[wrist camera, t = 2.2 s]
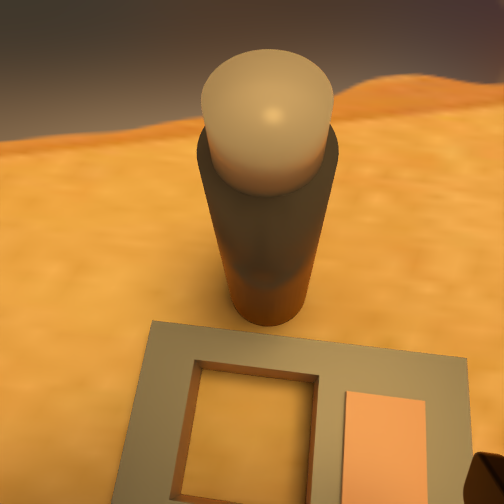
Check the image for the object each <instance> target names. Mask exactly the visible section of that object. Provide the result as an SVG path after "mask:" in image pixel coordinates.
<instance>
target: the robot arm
mask: <svg viewBox="0 0 504 504" xmlns="http://www.w3.org/2000/svg"><path fill="white" fill-rule="evenodd" d="M463 500H464V504H504V457H503V456H502V455H499V454H494V453H487V452H477V453H475V454H474V456H473V458H472V461H471V464H470V467H469V470H468V473H467V476H466V480H465V483H464V486H463Z"/></svg>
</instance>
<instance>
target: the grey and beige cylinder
mask: <svg viewBox="0 0 504 504" xmlns="http://www.w3.org/2000/svg"><path fill="white" fill-rule="evenodd" d="M333 103H334V96H333V90H332V87H331V84H330V82H329V80H328V78H327V77H326V75H325V74H324V73H323V71H322V70H321V69H320V68H319V67H318V66H317V65H315V64H314V63H313V62H311V61H310V60H308V59H306V58H304V57H302V56H300V55H297V54H294V53H292V52H288V51H283V50H274V49H263V50H254V51H249V52H246V53H242V54H239V55H237V56H234V57H232V58H231V59H229V60H227V61H225V62H224V63H222V64H221V65H220V66H219V67H217V68H216V69H215V71H214V72H213V73H212V74H211V75H210V76H209V78H208V79H207V81H206V83H205V85H204V88H203V91H202V96H201V108H202V112H203V118H204V123H205V127H204V128H203V130H202V132H201V134H200V137H199V140H198V145H197V161H198V166H199V170H200V174H201V178H202V182H203V186H204V190H205V194H206V199H207V203H208V207H209V211H210V215H211V219H212V223H213V227H214V231H215V235H216V239H217V243H218V247H219V251H220V255H221V259H222V263H223V267H224V271H225V275H226V279H227V283H228V287H229V291H230V295H231V299H232V302H233V305H234V307H235V308H236V310H237V311H238V312H239V314H240V315H241V316H242V317H244V318H245V319H246V320H248V321H249V322H252V323H254V324H257V325H261V326H276V325H280V324H283V323H285V322H287V321H289V320H290V319H292V318H293V317H294V316H295V315H296V314H297V313H298V312H299V311H300V309H301V308H302V306H303V304H304V301H305V297H306V293H307V289H308V285H309V280H310V276H311V272H312V268H313V264H314V259H315V255H316V251H317V247H318V242H319V238H320V234H321V230H322V226H323V221H324V217H325V213H326V209H327V204H328V200H329V196H330V192H331V188H332V183H333V179H334V175H335V171H336V166H337V162H338V155H339V151H338V142H337V138H336V135H335V132H334V130H333V128H332V126H331V125H330V120H331V115H332V109H333Z"/></svg>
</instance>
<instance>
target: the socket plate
mask: <svg viewBox="0 0 504 504" xmlns="http://www.w3.org/2000/svg"><path fill="white" fill-rule="evenodd" d="M202 369H208V370H216V371H223V372H231V373H239V374H247V375H255V376H262V377H270V378H278V379H286V380H294V381H301V382H309V383H314V391H313V405H312V419H311V433H310V447H309V461H308V475H307V489H306V502H305V504H464V500H463V486H464V483H465V480H466V476H467V473H468V470H469V467H470V464H471V461H472V458H473V449H472V433H471V417H470V401H469V385H468V369H467V358H461V357H453V356H444V355H436V354H428V353H419V352H411V351H403V350H394V349H386V348H378V347H369V346H361V345H353V344H344V343H336V342H328V341H319V340H311V339H303V338H294V337H286V336H278V335H269V334H261V333H253V332H244V331H236V330H228V329H219V328H211V327H203V326H194V325H186V324H178V323H169V322H161V321H153V320H152V324H151V328H150V332H149V337H148V341H147V346H146V350H145V355H144V359H143V363H142V368H141V372H140V377H139V381H138V386H137V390H136V395H135V399H134V403H133V408H132V412H131V417H130V421H129V426H128V430H127V434H126V439H125V443H124V448H123V452H122V457H121V461H120V466H119V470H118V474H117V479H116V483H115V488H114V492H113V497H112V501H111V504H241V503H234V502H228V501H221V500H215V499H208V498H202V497H195V496H189V495H182V494H181V489H182V483H183V477H184V471H185V466H186V460H187V454H188V448H189V442H190V437H191V431H192V425H193V419H194V413H195V407H196V402H197V396H198V390H199V384H200V378H201V372H202Z"/></svg>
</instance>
